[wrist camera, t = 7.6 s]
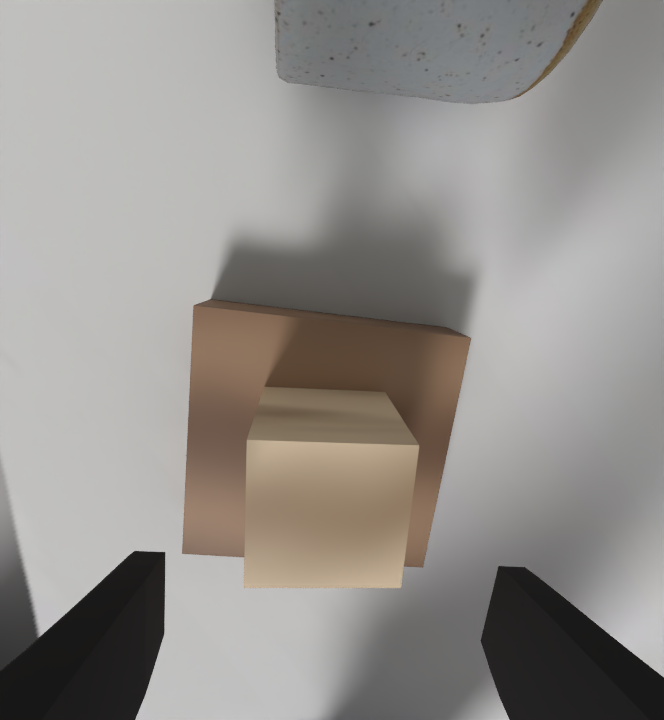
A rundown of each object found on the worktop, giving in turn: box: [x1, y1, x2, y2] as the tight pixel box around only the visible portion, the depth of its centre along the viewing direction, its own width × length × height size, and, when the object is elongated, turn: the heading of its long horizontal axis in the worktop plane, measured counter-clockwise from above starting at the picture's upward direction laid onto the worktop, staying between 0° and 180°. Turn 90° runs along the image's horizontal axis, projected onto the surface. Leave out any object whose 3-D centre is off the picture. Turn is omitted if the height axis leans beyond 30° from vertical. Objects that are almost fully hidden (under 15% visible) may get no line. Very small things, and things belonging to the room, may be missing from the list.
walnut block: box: [182, 299, 471, 567], centre depth 17 cm, size 10×10×3 cm
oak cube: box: [244, 387, 419, 588], centre depth 13 cm, size 4×4×4 cm
